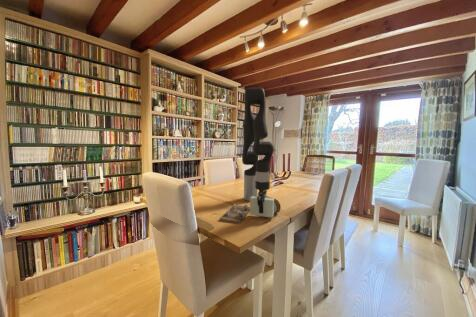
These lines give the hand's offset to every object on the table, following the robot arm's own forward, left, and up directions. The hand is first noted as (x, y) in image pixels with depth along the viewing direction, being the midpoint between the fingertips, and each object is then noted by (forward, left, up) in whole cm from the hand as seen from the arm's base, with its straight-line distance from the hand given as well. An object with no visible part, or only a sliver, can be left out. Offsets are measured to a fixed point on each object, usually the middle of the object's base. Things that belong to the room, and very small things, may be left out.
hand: (261, 211), depth 108 cm
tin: (-10, +2, -4) cm, 11 cm away
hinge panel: (0, -14, -3) cm, 14 cm away
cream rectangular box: (0, 0, -2) cm, 2 cm away
